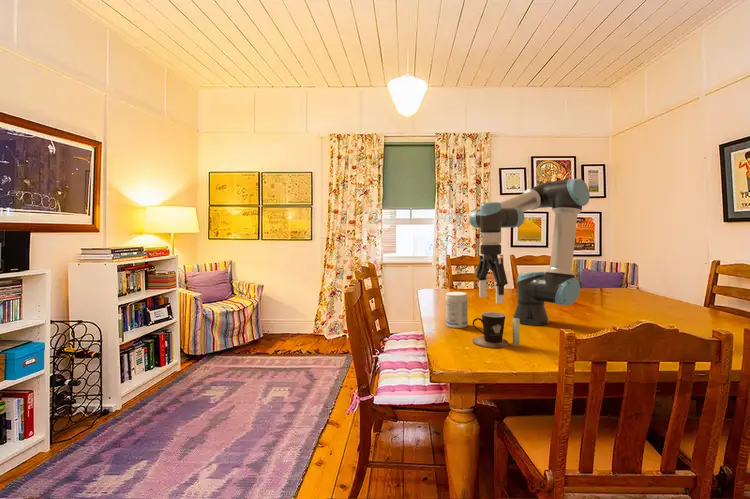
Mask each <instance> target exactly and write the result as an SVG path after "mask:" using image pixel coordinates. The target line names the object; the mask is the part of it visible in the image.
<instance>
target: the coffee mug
mask: <svg viewBox="0 0 750 499" xmlns="http://www.w3.org/2000/svg"><path fill="white" fill-rule="evenodd" d="M476 321H480V322H481V324H482V329H483V331H482V330H481V329H479V328H477V326H476V325H475V322H476ZM505 321H506V314H504V313H501V312H497V311H495V312H494V311H493V312H492V311H486V312H482V313H481V318H480V317H476V318H474V319H473V320H472V326H473V328H474V329H476V330H477V331H478V332H480V333H481V334H483V336H484V339H485V341H486V342H490V343H501V342H502V338H503V336H504V329H505ZM503 339H504V338H503Z"/></svg>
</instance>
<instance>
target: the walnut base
mask: <svg viewBox="0 0 750 499" xmlns="http://www.w3.org/2000/svg"><path fill="white" fill-rule="evenodd" d="M472 344H473V345H475V346H477V347H482V348H487V349H502V348H506V347H508V346H509V341H508V340H507V339H505V338H502V342H501V343H490V342H486V341H485V339H484V335H483V336H482V335H480V336H476V337H474V338H473V337H472Z"/></svg>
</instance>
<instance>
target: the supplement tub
mask: <svg viewBox="0 0 750 499" xmlns="http://www.w3.org/2000/svg"><path fill="white" fill-rule="evenodd" d="M468 316H469V315H468V294H467V293H466V292H464V291H463V292H462V291H449V292H446V293H445V325H446V326H447V327H448V328H451V329H452V328H454V329H462V328H463V329H464V328H467V326H468V325H469V324H468V320H469V318H468Z"/></svg>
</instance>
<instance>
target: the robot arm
mask: <svg viewBox="0 0 750 499" xmlns="http://www.w3.org/2000/svg"><path fill="white" fill-rule="evenodd" d="M590 198H591V196H590V189H589V186H588V185H587V183H586V182H585V181H584V180H583V179H581V178H569V179H560V180H555V181H554V180H553V181H547V182H543V183H541V184H539V185H535V186H533V187H531V188H528V189H526V190H524V192H523V193H522V194H518V195H516V196H514V197H511V198H509V199H505V200H504V201H501V202H494V201H493V202H490V201H489V202H482V203H481V204H480V205H479V208H480V209H476V210H473V211H471V212H470V213H469V218H468V219H469V224H470V225H471V226H472V227H473V228H475V229H480V235H479V238H480V243H481V244H480V250H479V251H480V252H479V253H480V255H479V262H478V267H477V271H476V276H475V278H477V279H478V281H479V282H478V288H479V290H478V291H479V292H478V293H479V296H478V297H479V298H486V297H487V289H488V288H487V276H488V274H489V271H491V272H492V274H493V277H494V280H495V304H496V305H499V304H505V294H504V292H505V286H506V285H507V286H508V279H507V275H506V271H505V266H504V258H502V257H499V256H500V255H501V254H502V245H501V243H502V229H503V228H507V229H508V228H512V229H513V228H514V229H515V228H519V227H521V226H522V225H523V224H524V221H525V213H524V212H526V211H529V210H531V211H535V210H537V209H542V208H543V209H544V208H551V211H552V212H553V213H554V214H555V216H554V222H553V223H554V225H553V233H552V234H553V235H552V246H551V252H550V253H551V254H550V261H549V262H550V264H549V268H548V269H546V270H545V271H530V272H521V273H518V275H517V281H516V283H517V284H516V286H517V287H516V288H517V289H516V290H517V294H516V295H517V302H516V303H517V304H516V307H515V311H514V313H513V315H512V319H513V318H519V319H520V325H521V324H522V325H527V326H546V325H547V324H549V316H548V313H547V310H546V307H545V303H551V304H555V305H562V306H571V305H573V304H574V303H575V302H576V300H578V298H579V296H580V293H581V292H580V291H581V284H580V281H579V280H578V279H577V278H576V273H575V272H574V271H573V260H574V252H575V251H574V250H575V240H576V233H577V232H576V230H577V221H578V215H579V214H580V213H581V212H583V207H584V206H587V205H588V203H589V201H590Z"/></svg>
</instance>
